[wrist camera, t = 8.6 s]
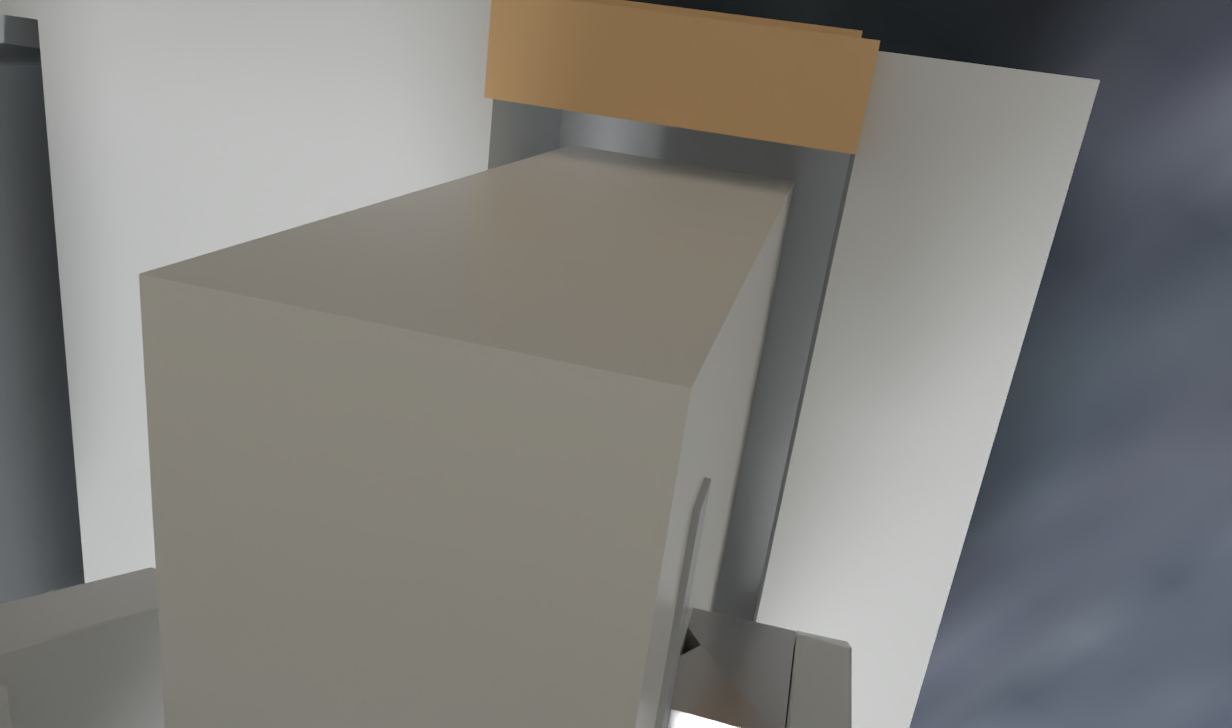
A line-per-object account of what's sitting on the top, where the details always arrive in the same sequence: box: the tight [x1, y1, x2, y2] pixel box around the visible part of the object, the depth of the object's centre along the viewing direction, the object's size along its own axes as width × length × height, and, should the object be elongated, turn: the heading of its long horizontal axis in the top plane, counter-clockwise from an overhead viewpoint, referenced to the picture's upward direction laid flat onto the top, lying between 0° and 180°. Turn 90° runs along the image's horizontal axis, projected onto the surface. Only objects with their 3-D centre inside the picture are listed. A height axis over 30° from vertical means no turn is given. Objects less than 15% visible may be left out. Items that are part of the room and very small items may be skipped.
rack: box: [0, 0, 1100, 728], centre depth 13 cm, size 12×20×8 cm, turn 83°
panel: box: [139, 145, 795, 728], centre depth 10 cm, size 9×3×8 cm, turn 173°
